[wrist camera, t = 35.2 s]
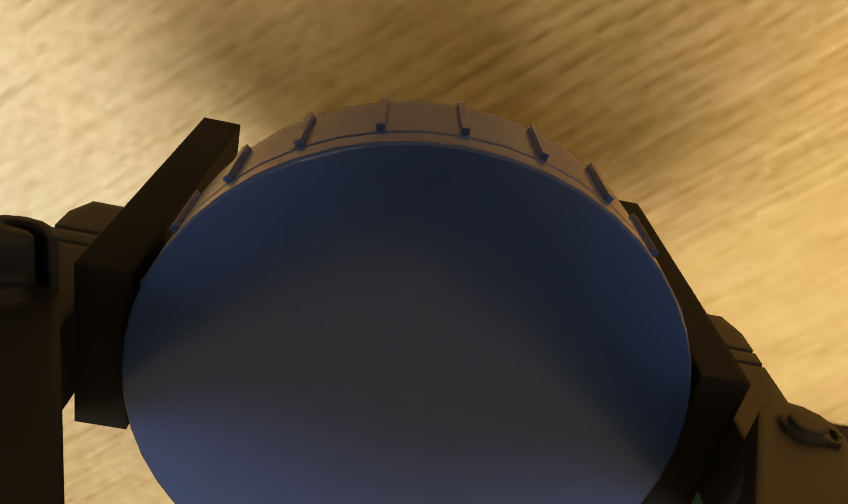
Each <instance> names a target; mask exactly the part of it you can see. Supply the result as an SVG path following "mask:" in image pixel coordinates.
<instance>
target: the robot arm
mask: <svg viewBox="0 0 848 504" xmlns="http://www.w3.org/2000/svg"><path fill="white" fill-rule="evenodd" d="M239 134H240V124H235V123H230V122H224V121H219V120H214V119H209V118H204V119H203V120H202V121H201V122H200V123H199V124H198V125H197V126H196V128H195V129H194V130H193V131H192V132H191V133H190V134H189V135H188V136H187V138H186V139H185V140H184V141H183V142H182V143H181V144H180V145H179V146H178V148H177V149H176V150H175V151H174V152H173V153H172V154H171V155H170V157H169V158H168V159H167V160H166V161H165V162H164V163H163V164H162V165H161V167H160V168H159V169H158V170H157V171H156V172H155V173H154V174H153V175H152V177H151V178H150V179H149V180H148V181H147V182H146V183H145V184H144V186H143V187H142V188H141V189H140V190H139V191H138V192H137V193H136V194H135V196H134V197H133V198H132V199H131V200H130V201H129V202H128V203H127V204H126V206H125V207H121V206H116V205H110V204H105V203H100V202H94V201H93V202H91V203H88V204H86V205H83V206H81V207H78V208H76V209H73V210H71V211H69V212H68V213H67V214H66V215H65V216H64V217H63V218H62V219H60V220H59V221H58V222H57V223H56V224H55V228H54V227H51V226H49V225H48V224H46V223H44V222H43V221H39V220H35V219H32V218H28V217H22V216H11V215H0V504H64V465H63V423H62V410H63V409H64V407H65V406H66V404H67V403H68V401H69V400H70V398H71V397H72V395H73V394H74V392H75V421H78V422H84V423H90V424H97V425H103V426H109V427H115V428H122V429H127V427H128V425H129V419H128V414H127V410H126V406H125V402H124V397H123V383H122V370H121V364H122V353H123V342H124V334H125V330H126V327H127V323H128V319H129V315H130V312H131V308H132V304H133V302H134V300H135V298H136V296H137V293H138V291H139V282H140V281H141V279H142V278H143V276H144V275H145V273H146V272H147V270H148V269H149V268H150V266H151V265H152V263H153V262H154V260H155V259H156V257H157V256H158V254H159V253H160V252H161V250H162V249H163V247H164V246H165V244H167V242H168V241H169V240H170V238H171V237H172V235H173V234H174V232H172V231H171V230H169V228H170V227H171V225H172V224H173V222H174V221H175V220H176V218H177V217H178V215H179V214H180V212H181V211H182V210H183V208H184V207H185V205H186V204H187V202H188V201H189V200H190V198H191V197H192V195H193V194H194V193H195V191H196V190H198V191H199V192H201V193H202V192H203V191H204V190H205V188H206V187H207V186H208V185H209V184H210V183H211V182H212V181H213V180H214V179H215V178H216V177H217V175H218V174H219V173H220V172H221V171H222V170H223V169H224V168H226V167H227V166H228V165H229V164H231V163H232V162H233V160H234V159H235V157H236V156H237V153H238V143H239ZM619 202H620V203H621V204H622V206H623V207H624V209H625V210H626V211H627V213H628V214H629V216H630V215H631V214H633V213H635V215H636V216H637V218H638V220H639V221H640V223H641V224H642V226H643V228H644V229H645V231H646V233H647V234H648V236H649V238H650V239H651V241H652V242H653V244H654V246H655V247H656V249H657V251H658V252H659V255H657V256H655V257H654V258H655V259H656V261H657V262H658V264H659V266H660V267H661V269H662V271H663V273H664V275H665V277H666V279H667V281H668V283H669V285H670V287H671V289H672V291H673V293H674V295H675V297H676V299H677V301H678V304H679V305H680V307H681V309H682V312H683V315H682V317H683V320H684V323H685V326H686V330H687V334H688V342H689V349H690V356H691V391H690V398H689V403H688V408H687V413H686V419H685V424H684V426H683V429H682V432H681V435H680V438H679V440H678V443H677V446H676V449H675V451H674V453H673V455H672V457H671V459H670V461H669V463H668V464H667V466H666V468H665V470H664V472H663V474H662V476H661V477H660V479H659V480H658V481H657V483H656V484H655V486H654V487H653V488H652V490H651V491H650V492H649V494H648V495H647V497H646V498H645V499H644V501H643V502H642V503H641V504H691V503H692V501H693V499H694V497H695V495H696V493H697V491H698V493H699V495H700V497H701V500H702V502H703V504H848V443H847V441H846V438H845V437H844V436H843V435H842V434H841V433H840V431H839V430H838V429H837V428H836V427H835V426H834V425H832V424H831V423H830V422H828V421H827V420H825V419H824V418H823V417H821V416H820V415H818V414H816V413H814V412H812V411H810V410H808V409H806V408H804V407H801V406H798V405H794V404H791V403H788V402H787V400H786V399H785V397H784V396H783V394H782V393H781V391H780V390H779V388H778V387H777V385H776V384H775V382H774V381H773V379H772V378H771V376H770V375H769V374H768V372H767V371H766V369H765V368H763V367H762V363H761V362H760V360H759V359H758V357H757V356H756V354H754V353H752V352H753V350H752V348H751V347H750V345H749V344H748V342H747V341H746V340H745V338H744V337H743V335H742V334H741V333H740V332H739V331H738V330H737V329H735V328H734V327H733V326H732V325H731V324H729V323H728V322H727V321H726V320H725V319H723V318H722V317H720V316H715V315H709V314H707V313H706V312H705V310H704V309H703V307H702V305H701V304H700V302H699V301H698V299H697V297H696V296H695V294H694V293H693V291H692V289H691V288H690V286H689V285H688V283H687V281H686V280H685V278H684V277H683V275H682V274H681V272H680V270H679V269H678V267H677V266H676V264H675V262H674V261H673V259H672V258H671V256H670V254H669V253H668V251H667V250H666V248H665V247H664V245H663V243H662V242H661V240H660V239H659V237H658V235H657V234H656V232H655V231H654V229H653V227H652V226H651V224H650V223H649V221H648V219H647V218H646V216H645V215H644V213H643V212H642V210H641V208H640V207H639V205H638V204H636V203H631V202H626V201H621V200H619Z"/></svg>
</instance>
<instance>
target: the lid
mask: <svg viewBox="0 0 848 504" xmlns="http://www.w3.org/2000/svg"><path fill="white" fill-rule="evenodd" d="M169 230H171V231H172V232H174V234H173V235H172V237H171V238H170V240H169V241H168V242H167V244H165V246H164V247H163V249H162V250H161V252H160V253H159V254H158V256H157V257H156V259H155V260H154V262H153V263H152V265H151V266H150V268H149V269H148V270H147V272H146V273H145V275H144V276H143V278H142V279H141V281H140V282H139V291H138V293H137V296H136V298H135V300H134V302H133V304H132V308H131V312H130V315H129V319H128V323H127V327H126V330H125V334H124V342H123V353H122V364H121V370H122V383H123V397H124V402H125V406H126V410H127V414H128V419H129V423H130V427H131V430H132V432H133V435H134V437H135V440H136V442H137V444H138V447H139V449H140V452H141V454H142V456H143V458H144V460H145V461H146V463H147V465H148V466H149V468H150V470H151V472H152V473H153V475H154V477H155V478H156V480H157V482H158V483H159V484H160V485H161V487H162V488H163V489H164V491H165V492H166V493H167V494H168V496H169V497H170V498H171V499H172V501H173V502H174V503H175V504H641V503H642V502H643V501H644V499H645V498H646V497H647V495H648V494H649V492H650V491H651V490H652V488H653V487H654V486H655V484H656V483H657V481H658V480H659V479H660V477H661V476H662V474H663V472H664V470H665V468H666V466H667V464H668V463H669V461H670V459H671V457H672V455H673V453H674V451H675V449H676V446H677V443H678V440H679V438H680V435H681V432H682V429H683V426H684V424H685V419H686V413H687V408H688V403H689V398H690V391H691V356H690V349H689V342H688V334H687V330H686V326H685V323H684V320H683V317H682V315H683V312H682V309H681V307H680V305H679V304H678V301H677V299H676V297H675V295H674V293H673V291H672V289H671V287H670V285H669V283H668V281H667V279H666V277H665V275H664V273H663V271H662V269H661V267H660V266H659V264H658V262H657V261H656V259H655V258H654V257H655V256H657V255H659V252H658V251H657V249H656V247H655V246H654V244H653V242H652V241H651V239H650V238H649V236H648V234H647V233H646V231H645V229H644V228H643V226H642V224H641V223H640V221H639V220H638V218H637V216H636V215H635V213H633V214H631V215H630V216H629V214H628V213H627V211H626V210H625V209H624V207H623V206H622V204H621V203H620V202H619V200H618V199H617V197H616V196H615V195H614V193H613V192H612V191H611V190H610V189H609V188H608V186H607V185H606V184H605V182H604V180H603V178H602V177H601V175H600V173H599V172H598V170H597V168H596V166H594V165H593V164H592V163H590V164H589V165H588V166H587V165H585V164H584V163H583V162H581V161H580V160H579V159H577V158H576V157H575V156H574V155H572V154H571V153H570V152H568V151H567V150H566V149H564V148H563V147H562V146H560V145H558V144H557V143H555V142H553V141H551V140H550V139H548V138H546V137H544V136H543V135H541V134H540V132H539V130H538V128H537V126H535V125H533V124H530V126H529V128H528V127H525V126H523V125H520V124H518V123H515V122H513V121H510V120H508V119H505V118H503V117H500V116H498V115H494V114H490V113H486V112H482V111H479V110H475V109H471V108H467V107H466V103H465V102H461V101H458V105H449V104H441V103H432V102H424V101H408V102H389V98H388V97H382V98H381V99H380V102H379V103H372V104H365V105H358V106H350V107H345V108H342V109H338V110H334V111H331V112H327V113H324V114H320V115H316V116H315V115H314V113H313V112H310V113H307V114H306V115H305V118H304V120H303V121H301V122H298V123H296V124H294V125H291V126H289V127H286V128H284V129H282V130H279V131H278V132H276V133H274V134H273V135H271V136H269V137H268V138H266V139H264V140H263V141H261V142H259V143H257V144H256V145H254V146H252V147H251V148H250V147H249V146H248V144H246V145H245V146H243V147H242V148H241V150H240V151H239V153H238V154H237V156H236V157H235V159H234V160H233V162H232V163H231V164H229V165H228V166H227V167H226V168H224V169H223V170H222V171H221V172H220V173H219V174H218V175H217V177H216V178H215V179H214V180H213V181H212V182H211V183H210V184H209V185H208V186H207V187H206V188H205V190H204V191H203V192H202V193H201V192H199V191H198V190H196V191H195V193H194V194H193V195H192V197H191V198H190V200H189V201H188V202H187V204H186V205H185V207H184V208H183V210H182V211H181V212H180V214H179V215H178V217H177V218H176V220H175V221H174V222H173V224H172V225H171V227H170V228H169Z"/></svg>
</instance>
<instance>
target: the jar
mask: <svg viewBox="0 0 848 504" xmlns="http://www.w3.org/2000/svg"><path fill="white" fill-rule="evenodd" d="M691 504H703V502H702V500H701V497H700V495H699V493H698V492H697V493H696V495H695V497H694V499H693V501H692V503H691Z"/></svg>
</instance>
